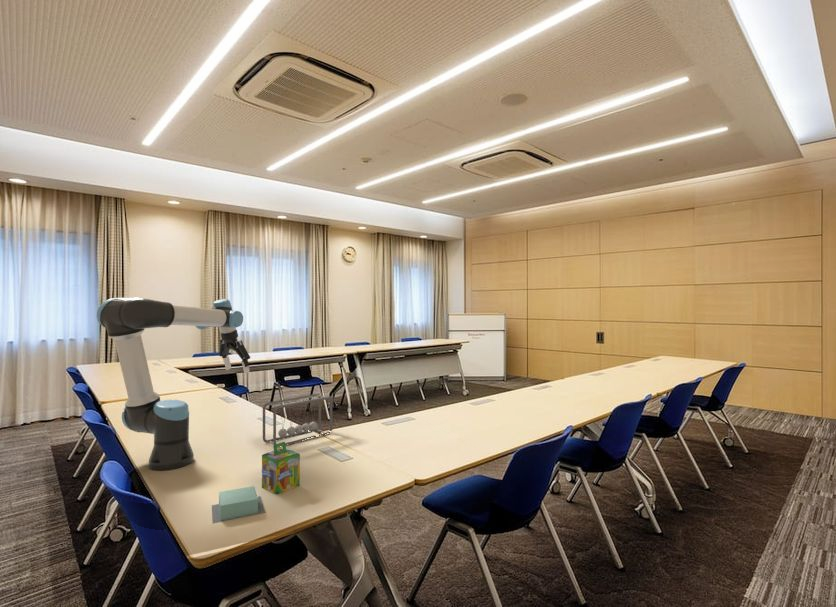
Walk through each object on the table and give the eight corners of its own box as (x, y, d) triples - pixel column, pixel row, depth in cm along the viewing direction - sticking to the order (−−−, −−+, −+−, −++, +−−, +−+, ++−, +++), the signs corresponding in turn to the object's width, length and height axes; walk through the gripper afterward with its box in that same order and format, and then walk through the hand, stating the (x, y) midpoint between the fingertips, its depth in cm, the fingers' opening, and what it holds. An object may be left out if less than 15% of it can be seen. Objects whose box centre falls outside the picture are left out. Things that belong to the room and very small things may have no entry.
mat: (212, 525, 121) (212, 523, 121) (211, 507, 131) (211, 505, 131) (265, 514, 127) (265, 512, 127) (260, 498, 138) (260, 496, 138)
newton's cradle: (274, 449, 184) (274, 407, 184) (262, 443, 192) (262, 403, 192) (332, 433, 206) (332, 396, 206) (320, 429, 213) (320, 393, 213)
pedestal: (220, 520, 122) (220, 505, 122) (219, 505, 131) (219, 492, 131) (258, 512, 127) (258, 498, 127) (254, 498, 136) (254, 485, 136)
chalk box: (277, 496, 139) (277, 450, 139) (260, 489, 144) (260, 444, 144) (300, 487, 146) (301, 442, 146) (284, 480, 152) (284, 437, 152)
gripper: (252, 330, 208) (261, 370, 214) (218, 326, 221) (227, 364, 226) (239, 335, 202) (248, 377, 208) (205, 331, 214) (215, 370, 220)
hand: (237, 370), depth 217 cm, fingers open, 13 cm apart
